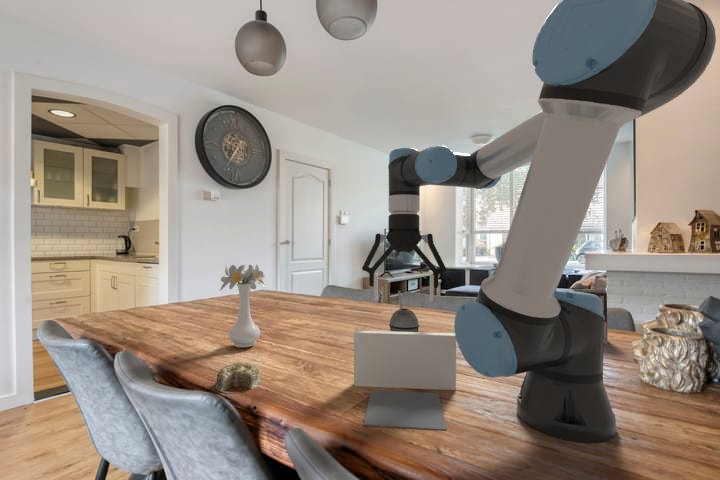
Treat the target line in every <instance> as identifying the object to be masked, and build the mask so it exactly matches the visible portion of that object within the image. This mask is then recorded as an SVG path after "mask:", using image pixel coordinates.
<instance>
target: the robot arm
mask: <svg viewBox="0 0 720 480" xmlns="http://www.w3.org/2000/svg"><path fill="white" fill-rule="evenodd" d="M716 37H717V36H716V28H715V26H714V23H713V21H712V18H710V16H709V15H708V12H707V13H706V11H704V10H703V9H702V8H700V6H697V5H696V4H693V3H691V2H689V1H685V0H562V1H560V2H558V3H557V4H556V5H555V6H554V8H553V9H552V10H551V11H550V13H549V14H548V15H547V17H546V19H545V20H544V22H543V23H542V25H541V27H540V29H539V32H538V33H537V36H536V38H535V41H534V45H533V49H532V55H531V57H532V65H533V66H534V67H535V68H534V72H535V74H536V76H537V77H538V78H539V80H540V81H541V82H543V84H542V87H541V90H540V93H539V97H538V101H537V103H538V105H539V106H540V108H541V110H540V111H539V112H537V113H535V114H534V115H532V116H531V117H530V116H529V118H527V119H525V120H524V121H522V122H521V123H519V124H518V125H516V126H515V127H513V128H511V129H510V130H508V131H506V132H505V133H503V134H501V135H500V136H499V137H496V138H495V139H493V140H492V141H490V142H489V143H486V144H485V145H484V146H483V147H480V148H478V149H477V150H475V151H474V152H472V153H463V152H462V153H461V152H454V151H453V150H451V149H450V148H449V147H448V146H446V145H436V146H435V145H434V146H429V147H427V148H425V149H423V150H420V151H419V150H418V149H416V148H414V147H400V148H395V149H393V150H391V151H390V153H389V156H388V157H389V159H388V166H387V169H388V212H389V213H390V214H389V215H388V230H387V232H388V233H387V234H381V233H380V232H379V233H376V234H375V237H374V239H375V240H374V243H373V246H372V247H371V249H370V252H369V253H368V254H367V257H366V259H365V261H364V263H363V266H361V267H362V268H361V270H362V271H363V272H367V273H368V274H369V276H368V277H369V278H368V279H369V280H368V281H369V284H368V285H369V287H373V302H374V301H378V299H379V298H378V291H379V289H378V286H379V273H378V272H376V271H377V270H378V268H380V266H381V265H382V264H383V263H384V261H386V259H387V258H388V257H390V254H391V253H392V252H393V251H395V252H396V253H401V252H406V253H411V252H413V251H414V252H415V253H416V254H417V255H418V256H419V258H420V259H421V260H422V261H423V262H424V264H425V265H426V266H427V267H428V268H429V270H430V271H431V272H432V273H429V302H430V303H434V301H435V300H434V298H435V297H434V296H435V295H434V294H435V291H434V290H435V289H438V288H439V276H440V274H442V273H446V272H447V268H446V266H445V263H444V262H443V259H442V257H441V256H440V255H441V254H440V253H439V251H438V249H437V248H436V246H435V243H434V237H433V234H432V233H426V234H421V232H420V215H419V214H418V213H420V205H421V204H420V201H421V200H420V197H421V196H420V195H421V194H420V193H421V192H420V188H421V187H425V186H439V187H440V186H441V187H442V186H443V187H455V188H456V187H458V188H470V189H476V190H482V189H491V188H494V187H495V186H496V185H497V184H498V183H499V182H500V180H501V178H502V176H504V175H505V174H507V173H510V172H512V171H514V170H516V169H518V168H521V167H522V166H525V165H526V164H529V163H530V165H529V168H528V170H527V175H526V177H525V180H524V183H523V186H522V190H521V191H520V192H521V193H520V196H519V199H518V202H517V205H516V209H515V211H514V215H513V217H512V222H511V224H510V227H509V230H508V233H507V237H506V240H505V243H504V245H503V248H502V252H501V255H500V258H499V262H498V264H497V267H496V270H495V273H494V274H493V275H491V276H488V277H486V278H484V279H483V280H482V281H481V284H480V287H479V289H478V290H479V291H478V293H477V297H476V300H474V301H473V300H469V301H467V302H466V303H463V304H462V305H461V306H459V308H458V309H457V311H456V314H455V316H454V324H453V327H454V333H455V336H456V343H457V344H458V349H459V351H460V352H461V355H462V356H463V358H464V359H465V361H466V363H467V364H468V365H469V366H470V367H471V368H472V369H473V370H474V371H476V372H477V373H478V374H479V375H482V376H484V377H486V378H502V377H504V378H509V377H512V376H515V375H519V374H523V373H526V374H525V375H524V379H523V381H522V384H521V387H520V391H519V393H518V395H517V399H516V413H517V415H518V417H519V418H520V419H521V420H522V421H523V422H524V423H525V424H526V425H528V426H530V427H531V428H533V429H534V430H536V431H539V432H540V433H542V434H546V435H548V436H552V437H554V438H557V439H562V440H565V441H570V442H575V443H586V444H593V443H595V444H597V443H603V442H604V443H605V442H607V441H610V440H612V439H613V438H614V437H616V434H617V433H616V432H617V419H616V415H615V413H614V412H613V408H612V404H611V402H610V399H609V395H608V393H607V390H606V388H605V384H604V344H603V337H604V320H605V317H604V315H603V303H602V300H601V299H600V298H599V297H598V296H596V295H594V294H589V293H582V292H575V291H574V290H567V289H558V286H559V284H560V282H561V279H562V276H563V273H564V271H565V268H566V265H567V263H568V260H569V258H570V256H571V253H572V251H573V249H574V246H575V243H576V240H577V237H578V236H579V234H580V230H581V228H582V225H583V222H584V221H585V217H586V215H587V213H588V210H589V207H590V206H591V202H592V200H593V198H594V195H595V192H596V189H597V188H598V184H599V183H600V179H601V177H602V175H603V173H604V169H605V167H606V164H607V162H608V160H609V157H610V154H611V152H612V149H613V147H614V144H615V142H616V139H617V137H618V133H619V131H620V130H621V128H623V126H624V125H626V124H627V123H629V122H631V121H634V120H636V119H638V118H640V117H643V116H644V115H647V114H648V113H651V112H653V111H654V110H657V109H659V108H661V107H663V106H664V105H666V104H668V103H670V102H672V101H673V100H674V99H676V98H678V97H679V96H681V95H682V94H683V93H685V92H686V91H687V90H688V89H689V88H691V87H692V85H694V84H695V83H696V82H697V81H698V80H699V78H700V77H701V76H702V75H703V74H704V73H705V70H706V68H707V67H708V65H709V64H710V62H711V61H712V57H713V54H714V52H715V49H716V41H717V38H716ZM385 240H386V241H387V242H388V243H389V244H390V245H389V247H388V248H387V249H386V250H385V252H383V254H382V255H380V257H379V259H378V260H376V262H375V263H374V264H373V265H372V266H370V265H371V262H372V261H373V259H374V256H375V255H376V254H377V253H376V252H377V251H378V249H379V247H380V245H381V243H383V242H384V241H385ZM421 240H423V242H424V243H426V244H427V246H428V247H429V249H430V251H431V254H432V255H433V257H434V259H435V262H436V264H437V266H438V267H436V266H435V265H434V264H433V263H432V262H431V260H430V259H429V258H428V257H427V256H426V255H425V253H424V252H423V251H422V250H421V249H420V248H419V246H418V244H419V243H420V242H422V241H421Z"/></svg>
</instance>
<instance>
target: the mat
mask: <svg viewBox="0 0 720 480" xmlns="http://www.w3.org/2000/svg"><path fill="white" fill-rule="evenodd" d="M364 416H365V417H364V422H363V427H376V428H377V427H378V428H393V429H394V428H395V429H397V428H399V429H412V430H415V429H416V430H432V431H448V428H447V424H446V420H445V415H444V411H443V406H442V402H441V399H440V394H439V392H422V391H421V392H419V391H401V390H400V391H399V390H397V391H396V390H379V389H370V393H369V398H368V402H367V407H366V412H365V415H364Z"/></svg>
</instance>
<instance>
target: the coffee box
mask: <svg viewBox="0 0 720 480" xmlns="http://www.w3.org/2000/svg"><path fill="white" fill-rule="evenodd" d="M573 291H575V292H582V293H589V294H594V295H596V296H598V297H599V298H600V299H601V300H602V303H603V315H604V317H605V320H604V337H603V345H608V343H609V342H608V293H607V290H606V289H593V288H591V289H590V288H589V289H588V288H574V289H573Z"/></svg>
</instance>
